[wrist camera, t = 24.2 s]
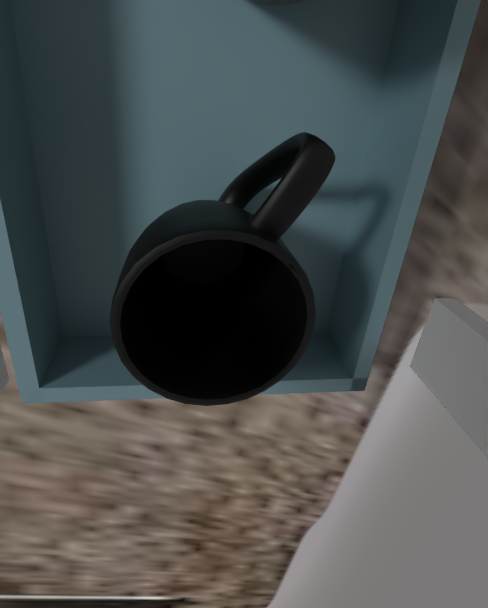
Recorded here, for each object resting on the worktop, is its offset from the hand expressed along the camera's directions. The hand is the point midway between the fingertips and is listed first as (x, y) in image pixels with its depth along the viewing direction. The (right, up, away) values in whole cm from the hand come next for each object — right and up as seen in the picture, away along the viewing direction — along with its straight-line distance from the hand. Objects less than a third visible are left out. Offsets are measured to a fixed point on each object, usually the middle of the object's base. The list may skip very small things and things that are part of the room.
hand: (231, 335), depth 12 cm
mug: (-1, +6, +11) cm, 13 cm away
